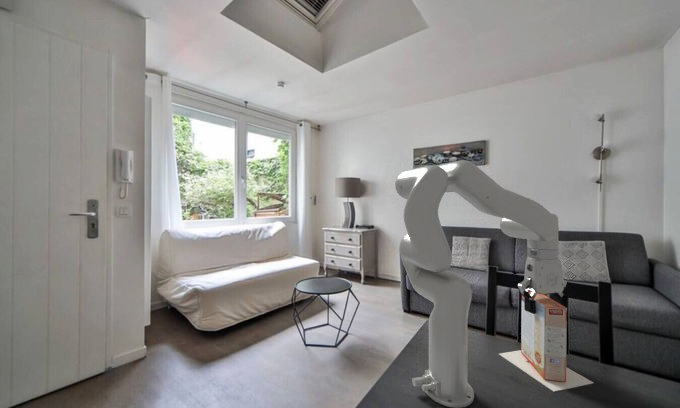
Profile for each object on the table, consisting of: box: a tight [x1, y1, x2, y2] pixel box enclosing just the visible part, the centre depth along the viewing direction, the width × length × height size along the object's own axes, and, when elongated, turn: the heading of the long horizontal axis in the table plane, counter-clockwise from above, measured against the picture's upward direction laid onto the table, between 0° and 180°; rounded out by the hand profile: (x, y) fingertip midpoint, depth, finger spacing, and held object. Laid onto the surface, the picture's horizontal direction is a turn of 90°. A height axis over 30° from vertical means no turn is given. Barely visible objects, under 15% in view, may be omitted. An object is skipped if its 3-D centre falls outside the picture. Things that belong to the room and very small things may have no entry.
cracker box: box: [520, 292, 568, 382], centre depth 81 cm, size 14×6×21 cm, turn 168°
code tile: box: [498, 349, 594, 392], centre depth 81 cm, size 14×18×1 cm
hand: (543, 310), depth 81 cm, fingers open, 9 cm apart
